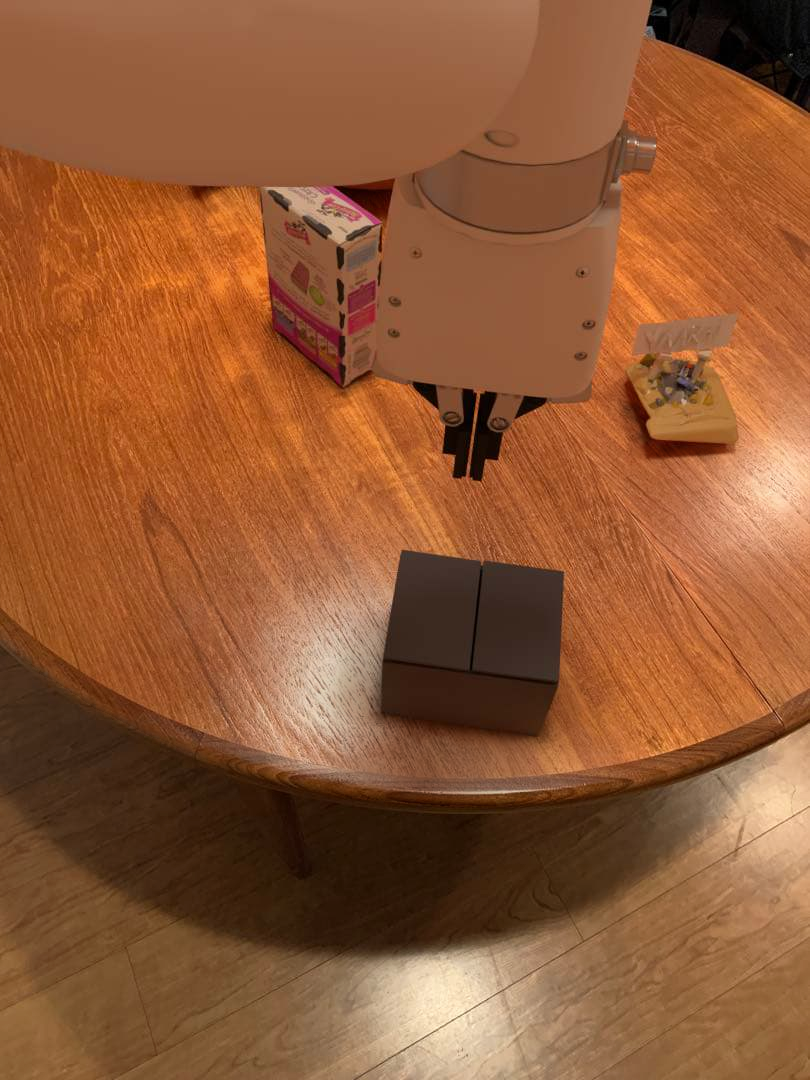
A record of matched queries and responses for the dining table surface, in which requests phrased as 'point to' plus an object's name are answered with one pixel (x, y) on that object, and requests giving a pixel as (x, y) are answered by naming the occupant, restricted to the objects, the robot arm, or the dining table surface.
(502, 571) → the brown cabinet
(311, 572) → the dining table surface
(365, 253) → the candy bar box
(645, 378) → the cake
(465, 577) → the flap
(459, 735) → the dining table surface
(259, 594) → the dining table surface
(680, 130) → the dining table surface
